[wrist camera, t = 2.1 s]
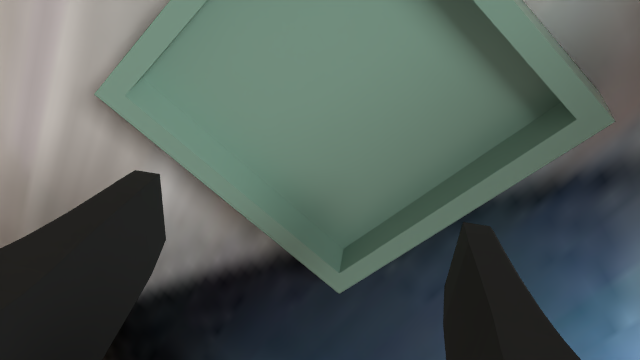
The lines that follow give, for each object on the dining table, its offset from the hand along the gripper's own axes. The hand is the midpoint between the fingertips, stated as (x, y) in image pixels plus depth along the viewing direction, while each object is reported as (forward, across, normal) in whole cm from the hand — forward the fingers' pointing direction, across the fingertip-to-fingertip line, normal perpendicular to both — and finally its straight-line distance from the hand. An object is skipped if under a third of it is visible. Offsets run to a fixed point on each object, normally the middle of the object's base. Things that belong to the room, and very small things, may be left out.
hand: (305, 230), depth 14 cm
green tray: (+8, 0, 0) cm, 8 cm away
